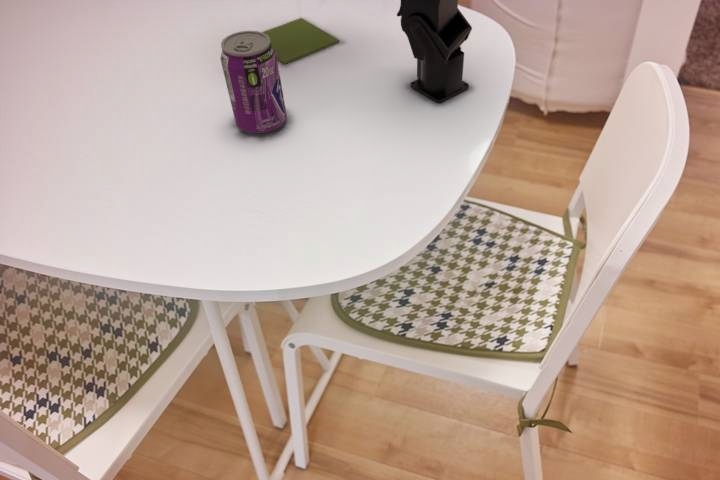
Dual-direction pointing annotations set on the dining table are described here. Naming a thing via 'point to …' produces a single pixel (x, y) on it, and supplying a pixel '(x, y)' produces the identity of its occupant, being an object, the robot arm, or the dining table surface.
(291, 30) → the mat
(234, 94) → the beverage can
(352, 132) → the dining table surface
